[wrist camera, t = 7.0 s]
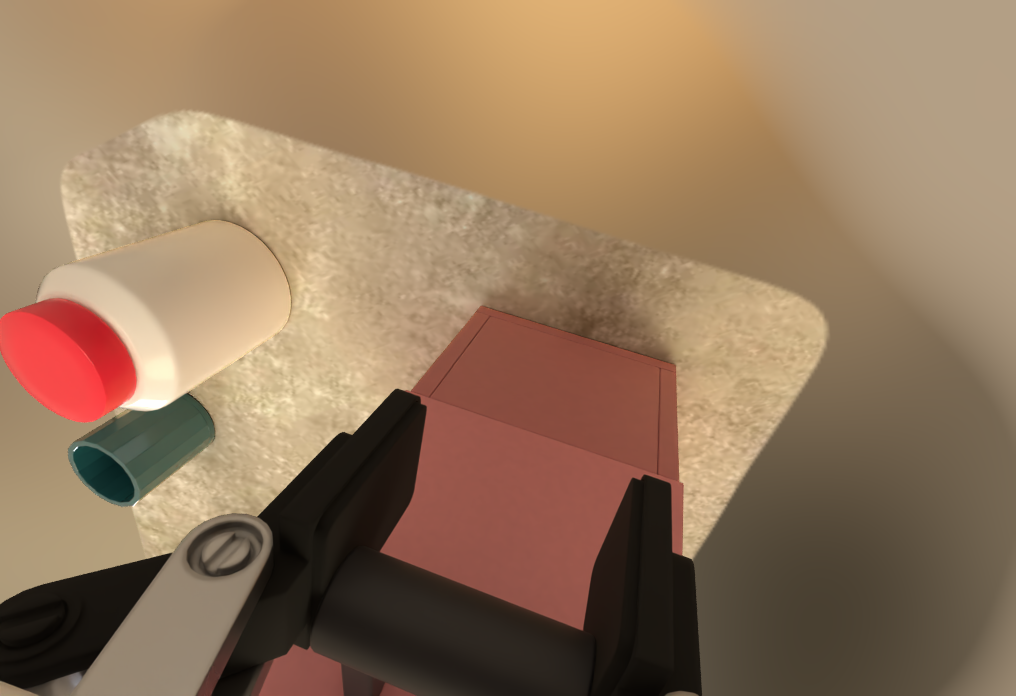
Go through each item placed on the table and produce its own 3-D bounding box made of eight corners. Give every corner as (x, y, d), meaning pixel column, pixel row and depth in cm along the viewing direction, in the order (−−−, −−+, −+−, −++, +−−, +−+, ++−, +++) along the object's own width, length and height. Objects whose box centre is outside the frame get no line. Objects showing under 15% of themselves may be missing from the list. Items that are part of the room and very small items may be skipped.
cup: (141, 393, 39) (53, 445, 33) (189, 383, 37) (104, 437, 31) (179, 450, 41) (102, 508, 35) (227, 443, 39) (153, 504, 33)
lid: (659, 993, 9) (827, 980, 6) (156, 752, 11) (57, 628, 7) (676, 496, 18) (744, 379, 15) (404, 404, 20) (411, 278, 16)
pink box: (614, 507, 31) (597, 643, 24) (453, 451, 33) (390, 561, 25) (676, 364, 26) (679, 481, 18) (480, 305, 27) (410, 390, 20)
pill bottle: (295, 353, 32) (144, 464, 23) (191, 321, 34) (8, 415, 24) (288, 237, 29) (103, 313, 19) (171, 206, 30) (-56, 264, 20)
